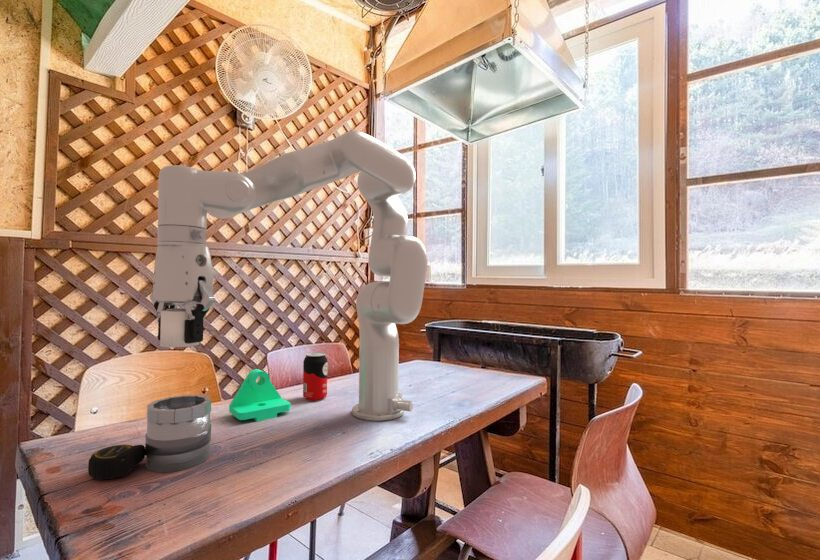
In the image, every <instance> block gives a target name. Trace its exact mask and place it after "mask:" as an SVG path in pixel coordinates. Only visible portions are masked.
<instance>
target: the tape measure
mask: <svg viewBox="0 0 820 560" xmlns="http://www.w3.org/2000/svg"><path fill="white" fill-rule="evenodd" d="M145 457H147V452H146V451H145V444H144V445H143V444H136V445H129V444H116V445H110V446H106V447H103V448H100V449H98V450H96V451H95V452H94V453H92V455H91V456H90V458H89V459H88V463H87V469H88V470H87V471H88V473H87V474H88V475H89V477H91V478H92V479H97V480H107V479H114V478H119V477H123V476H127V475H128V474H129V473H130V472H131V471H132V470H133V469H134V468H135V467H136V466H137V465H139V464H140V463H141V462H143V460H145Z"/></svg>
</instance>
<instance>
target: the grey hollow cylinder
mask: <svg viewBox="0 0 820 560" xmlns="http://www.w3.org/2000/svg"><path fill="white" fill-rule="evenodd" d="M211 411H212V399H211V398H210V396H208V395H203V394H182V395H176V396H168V397H164V398H160V399H157V400H154V401H152V402H150V403H149V404H147V405H146V421H147V423H146V424H147V425H146V433H145V437H144V438H145V441H144V442H145V443H144V447H145V451H146V452H147V456H146V464H145V465H146V469H147V470H148V471H151V472H153V473H154V472H155V473H174V472H179V471H185V470H189V469H191V468H195V467H197V466H199V465H201V464H203V463H205V462H206V461H207V460H208V459H209V458H210V454H211V453H210V445H211V444H210V442H211V441H212V424H211Z"/></svg>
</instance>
